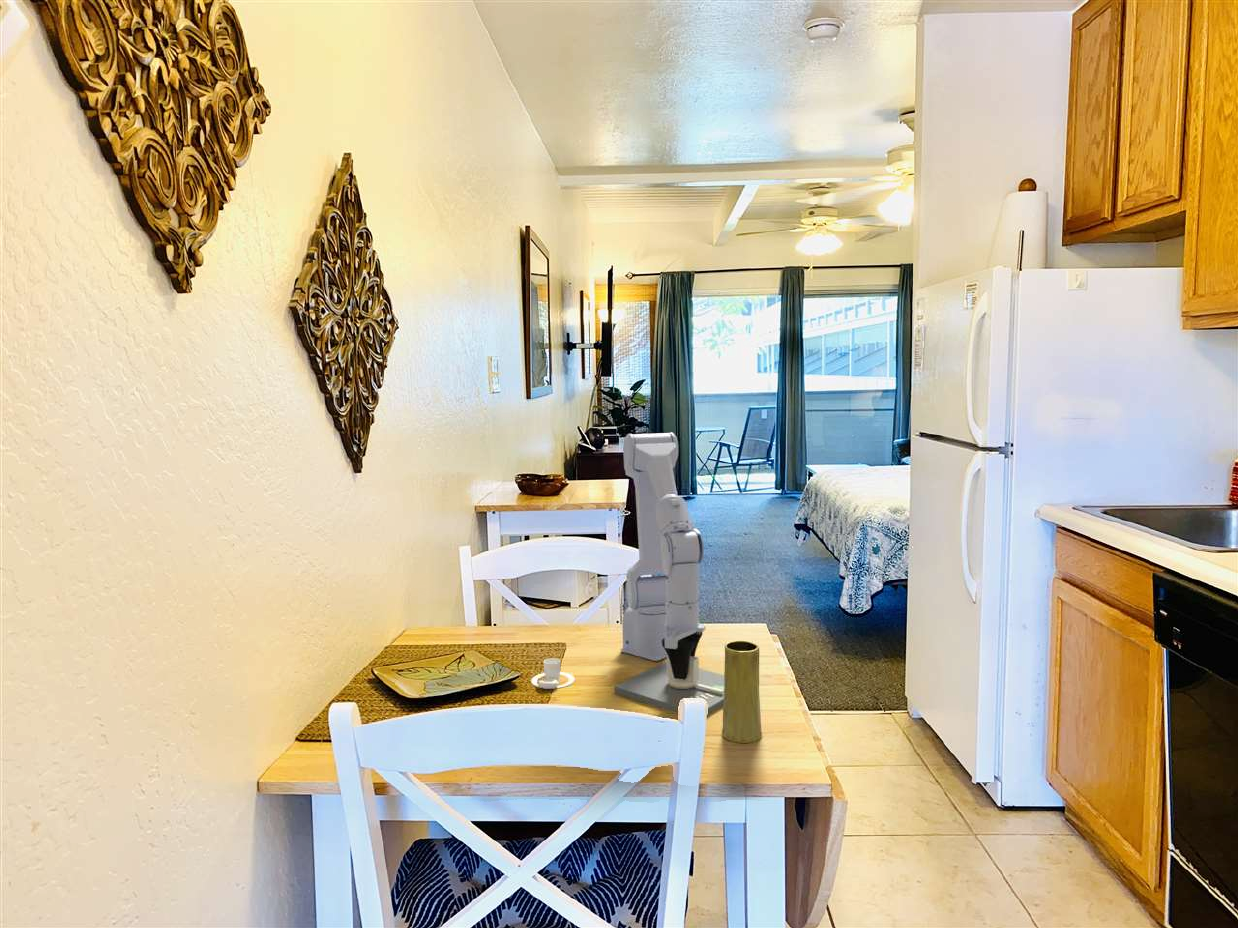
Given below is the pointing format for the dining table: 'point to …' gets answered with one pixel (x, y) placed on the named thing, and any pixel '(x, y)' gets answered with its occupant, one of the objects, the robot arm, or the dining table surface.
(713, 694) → the dial board
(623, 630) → the robot arm
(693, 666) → the knob
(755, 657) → the vase
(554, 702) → the dining table surface
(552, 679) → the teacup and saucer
